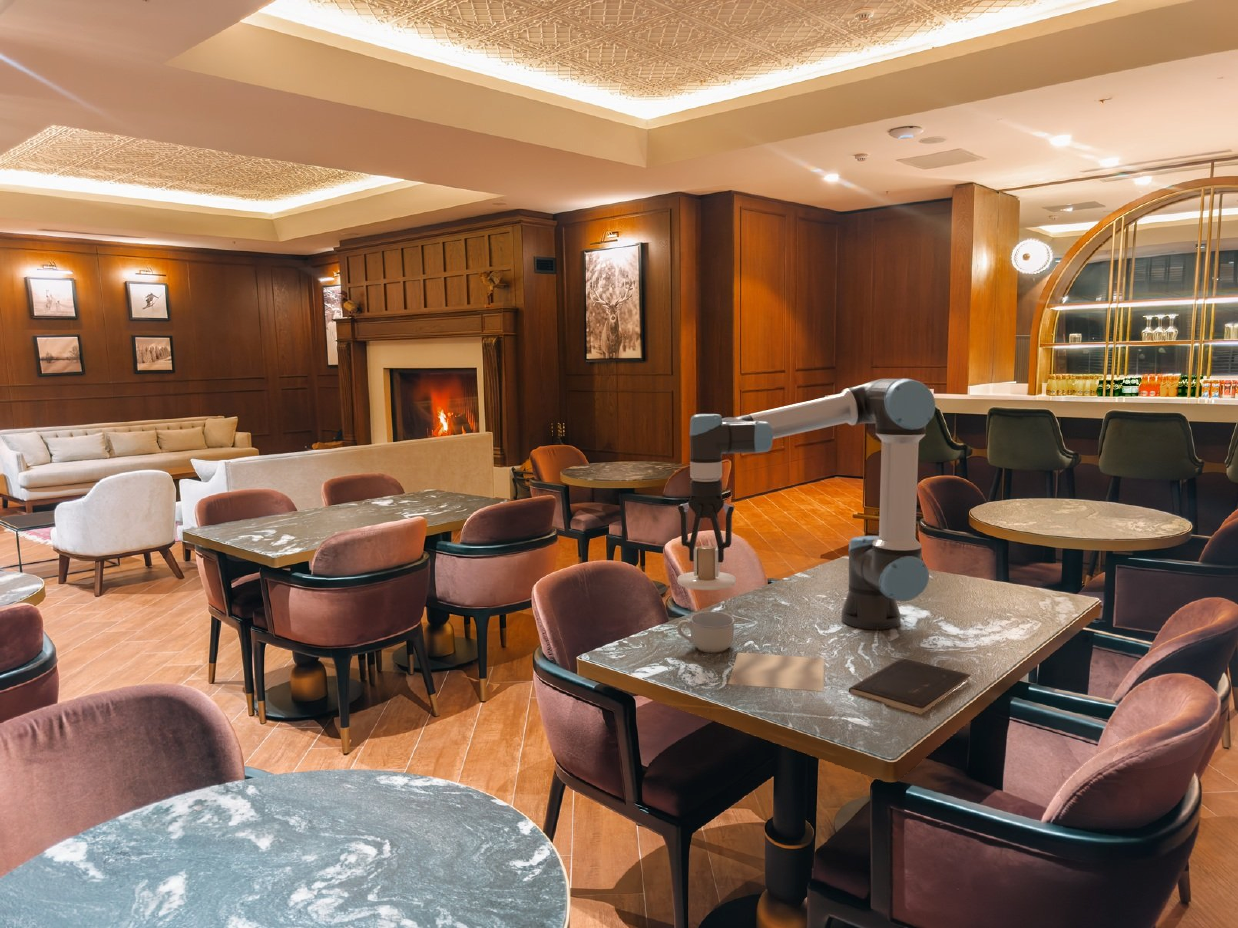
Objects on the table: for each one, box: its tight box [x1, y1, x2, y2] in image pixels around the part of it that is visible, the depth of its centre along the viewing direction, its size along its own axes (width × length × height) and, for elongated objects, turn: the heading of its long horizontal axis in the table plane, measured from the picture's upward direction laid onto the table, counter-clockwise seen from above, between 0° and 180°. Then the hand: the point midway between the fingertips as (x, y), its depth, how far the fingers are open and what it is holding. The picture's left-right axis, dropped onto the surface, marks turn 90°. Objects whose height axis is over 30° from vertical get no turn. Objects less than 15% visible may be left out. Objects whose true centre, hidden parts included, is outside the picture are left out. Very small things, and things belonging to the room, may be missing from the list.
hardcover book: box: [848, 657, 971, 715], centre depth 175 cm, size 16×23×2 cm
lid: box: [677, 545, 737, 591], centre depth 198 cm, size 14×14×8 cm
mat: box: [727, 652, 825, 692], centre depth 185 cm, size 20×20×1 cm
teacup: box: [676, 610, 736, 654], centre depth 200 cm, size 14×11×8 cm
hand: (706, 574), depth 198 cm, fingers closed on lid, 4 cm apart
